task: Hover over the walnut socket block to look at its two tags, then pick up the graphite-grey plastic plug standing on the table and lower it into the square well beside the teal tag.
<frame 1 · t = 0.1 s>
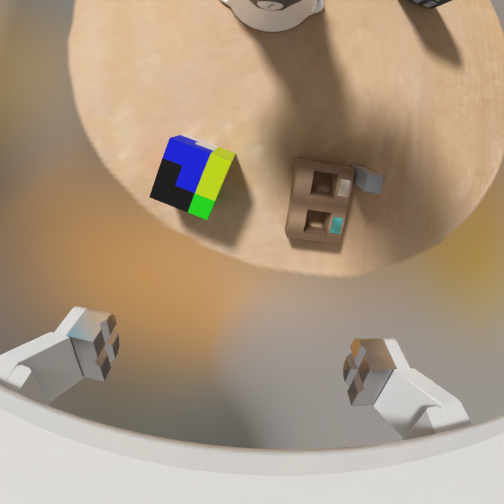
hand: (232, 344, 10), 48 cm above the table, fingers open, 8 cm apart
puzzle toy: (200, 168, 55), on the table
plug: (357, 173, 54), on the table
socket block: (316, 198, 56), on the table
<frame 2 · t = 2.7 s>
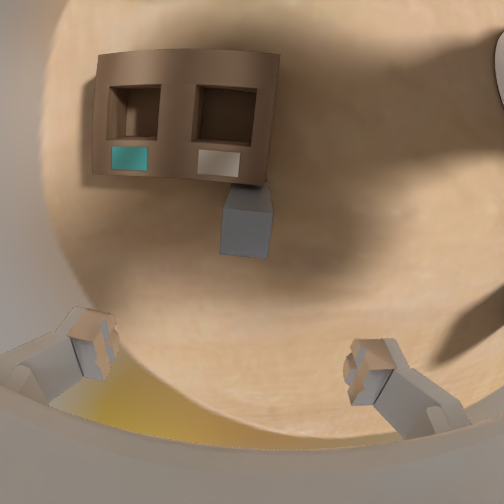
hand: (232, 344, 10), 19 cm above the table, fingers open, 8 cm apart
plug: (249, 196, 27), on the table
socket block: (187, 112, 24), on the table
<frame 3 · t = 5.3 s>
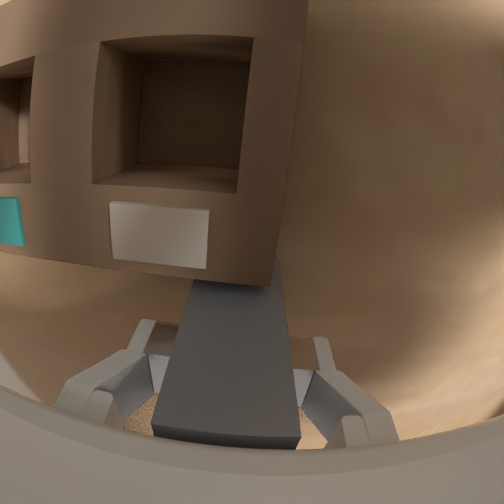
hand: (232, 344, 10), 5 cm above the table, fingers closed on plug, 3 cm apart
plug: (238, 276, 14), on the table, touching gripper
socket block: (112, 111, 11), on the table
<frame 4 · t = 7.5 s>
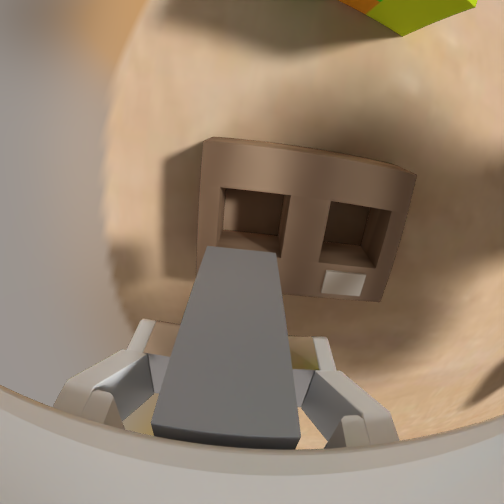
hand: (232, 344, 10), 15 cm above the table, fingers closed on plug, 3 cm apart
plug: (238, 279, 14), point 11 cm above the table, touching gripper
socket block: (298, 211, 24), on the table
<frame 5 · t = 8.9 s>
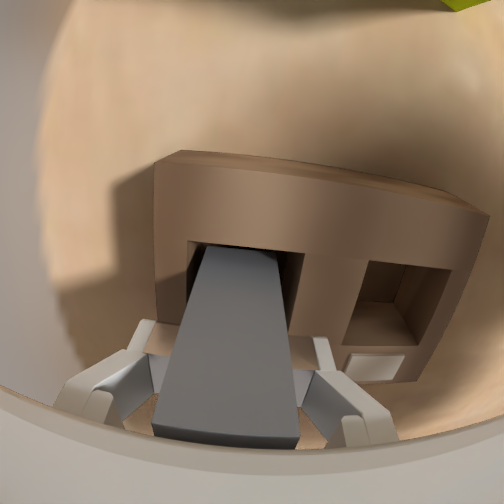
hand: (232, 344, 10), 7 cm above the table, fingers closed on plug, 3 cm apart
plug: (238, 279, 14), point 2 cm above the table, touching gripper
socket block: (311, 261, 16), on the table
when the fingers open (6 cm above the table, at t = 10.1 s): plug stays where it is, resting in socket block.
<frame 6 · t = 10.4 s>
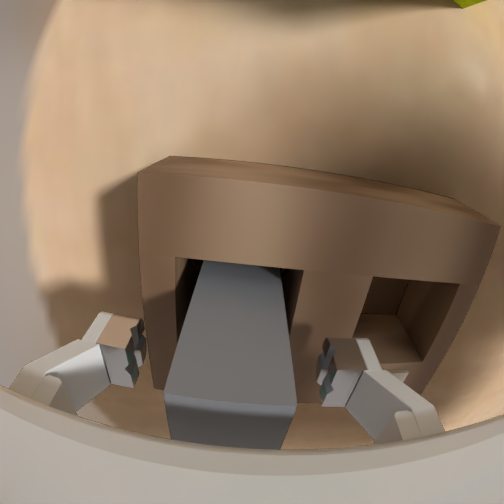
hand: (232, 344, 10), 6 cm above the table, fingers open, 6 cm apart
plug: (240, 268, 15), resting in socket block
socket block: (310, 273, 15), on the table
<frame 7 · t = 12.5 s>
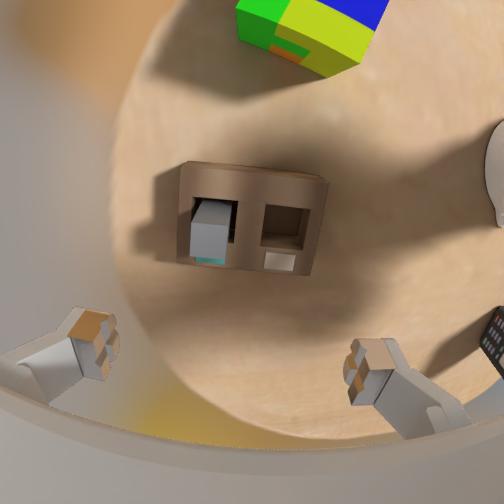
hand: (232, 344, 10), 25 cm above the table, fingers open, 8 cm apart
puzzle toy: (302, 21, 25), on the table
card reader: (491, 323, 43), on the table
plug: (217, 210, 33), resting in socket block
socket block: (249, 212, 34), on the table
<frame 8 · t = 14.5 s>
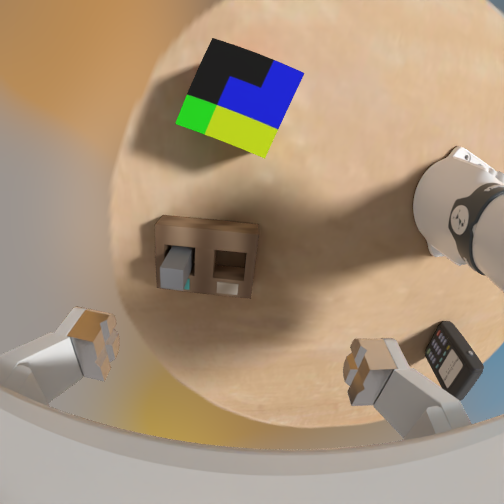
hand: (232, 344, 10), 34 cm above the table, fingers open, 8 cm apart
puzzle toy: (242, 101, 37), on the table
card reader: (436, 336, 54), on the table
plug: (185, 249, 46), resting in socket block
socket block: (208, 250, 46), on the table
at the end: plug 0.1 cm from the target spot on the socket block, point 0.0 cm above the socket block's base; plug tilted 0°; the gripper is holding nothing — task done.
